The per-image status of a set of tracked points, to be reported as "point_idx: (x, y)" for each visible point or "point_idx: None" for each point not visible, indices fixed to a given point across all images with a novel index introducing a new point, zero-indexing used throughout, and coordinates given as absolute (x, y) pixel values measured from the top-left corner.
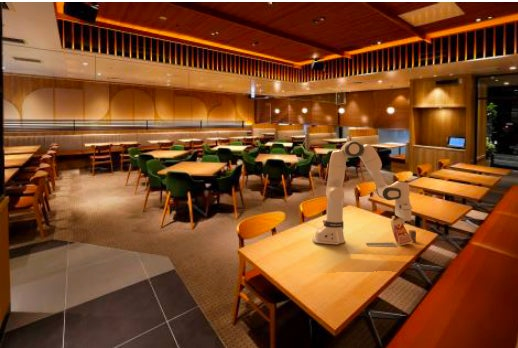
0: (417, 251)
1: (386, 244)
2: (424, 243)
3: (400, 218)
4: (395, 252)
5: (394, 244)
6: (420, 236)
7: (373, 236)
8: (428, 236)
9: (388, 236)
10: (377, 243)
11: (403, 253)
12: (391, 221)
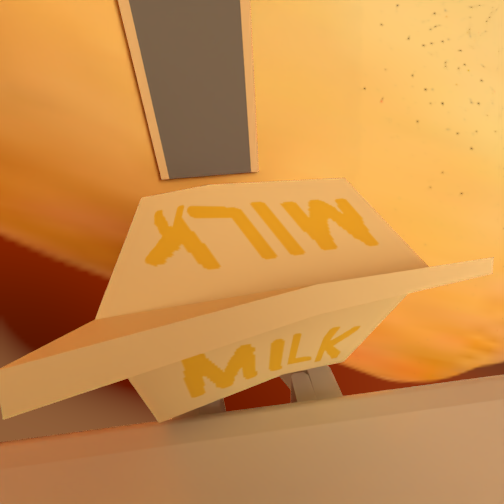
0: (110, 275)
1: (186, 99)
2: None
3: (159, 409)
4: (3, 128)
5: (204, 170)
6: (389, 339)
7: (446, 32)
8: (385, 364)
9: (419, 178)
10: (195, 1)
11: (14, 185)
12: (251, 182)
